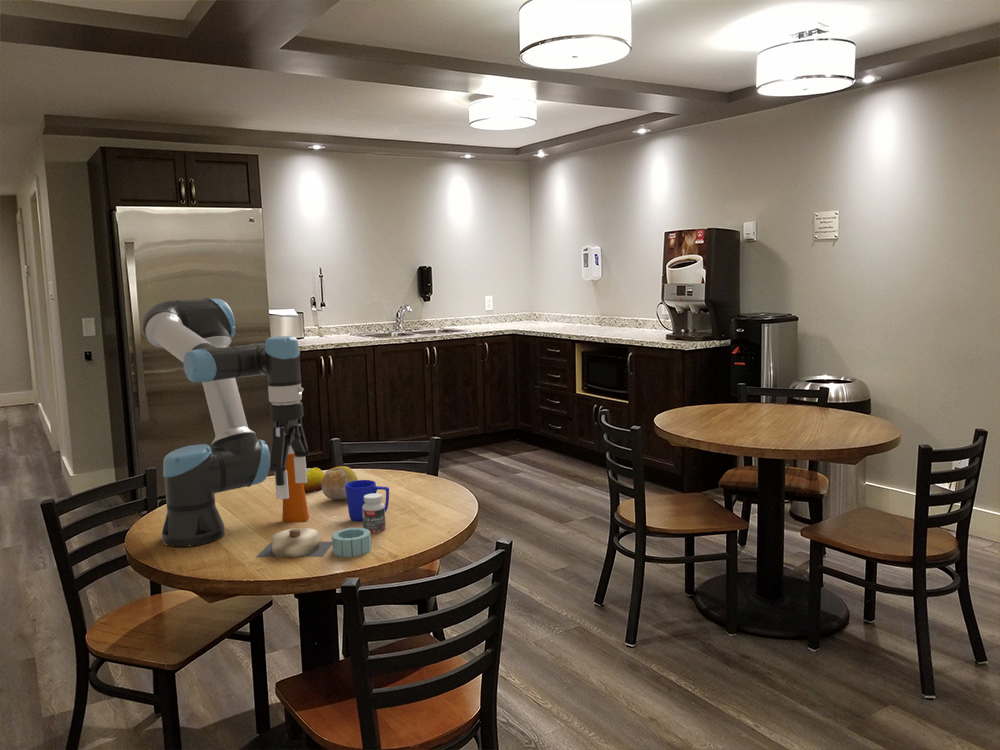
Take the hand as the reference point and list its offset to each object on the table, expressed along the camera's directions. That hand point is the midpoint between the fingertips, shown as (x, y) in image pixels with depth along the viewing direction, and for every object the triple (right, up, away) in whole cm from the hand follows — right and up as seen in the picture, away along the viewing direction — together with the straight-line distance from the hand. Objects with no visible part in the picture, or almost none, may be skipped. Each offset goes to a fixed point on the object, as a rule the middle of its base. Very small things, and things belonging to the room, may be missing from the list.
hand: (292, 490), depth 187 cm
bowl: (+14, -15, 0) cm, 21 cm away
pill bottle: (+17, -13, +15) cm, 26 cm away
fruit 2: (+2, -10, +46) cm, 47 cm away
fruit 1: (-11, -9, +60) cm, 61 cm away
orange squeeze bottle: (-7, -12, +29) cm, 33 cm away
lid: (0, -14, +2) cm, 15 cm away
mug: (+14, -12, +26) cm, 32 cm away
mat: (0, -15, +2) cm, 16 cm away
